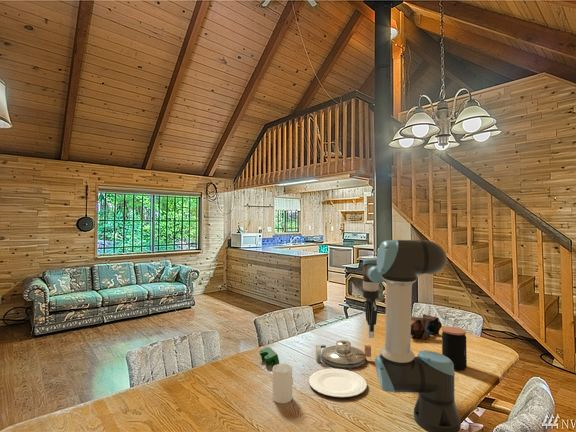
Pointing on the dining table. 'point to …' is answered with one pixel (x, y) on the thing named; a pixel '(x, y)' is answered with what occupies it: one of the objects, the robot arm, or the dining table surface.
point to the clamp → (269, 356)
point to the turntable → (354, 359)
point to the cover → (343, 349)
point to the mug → (282, 383)
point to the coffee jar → (455, 346)
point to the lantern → (425, 326)
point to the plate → (337, 383)
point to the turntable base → (319, 358)
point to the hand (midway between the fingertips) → (370, 337)
